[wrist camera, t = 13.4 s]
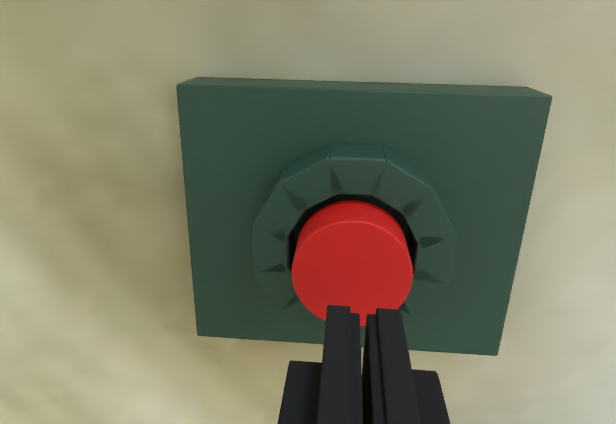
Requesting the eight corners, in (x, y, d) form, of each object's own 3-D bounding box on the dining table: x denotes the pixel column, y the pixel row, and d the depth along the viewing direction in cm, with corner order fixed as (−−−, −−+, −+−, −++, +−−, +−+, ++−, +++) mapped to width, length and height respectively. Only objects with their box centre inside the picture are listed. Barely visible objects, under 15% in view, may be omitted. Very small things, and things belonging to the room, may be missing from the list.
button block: (211, 306, 21) (182, 366, 17) (195, 76, 17) (154, 91, 14) (483, 323, 20) (512, 390, 17) (528, 86, 17) (579, 105, 13)
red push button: (296, 293, 16) (290, 323, 15) (297, 196, 15) (291, 217, 13) (400, 300, 16) (406, 331, 14) (411, 202, 15) (419, 224, 13)
